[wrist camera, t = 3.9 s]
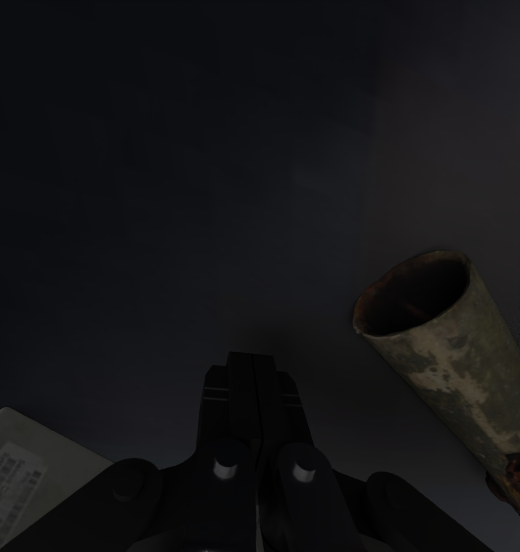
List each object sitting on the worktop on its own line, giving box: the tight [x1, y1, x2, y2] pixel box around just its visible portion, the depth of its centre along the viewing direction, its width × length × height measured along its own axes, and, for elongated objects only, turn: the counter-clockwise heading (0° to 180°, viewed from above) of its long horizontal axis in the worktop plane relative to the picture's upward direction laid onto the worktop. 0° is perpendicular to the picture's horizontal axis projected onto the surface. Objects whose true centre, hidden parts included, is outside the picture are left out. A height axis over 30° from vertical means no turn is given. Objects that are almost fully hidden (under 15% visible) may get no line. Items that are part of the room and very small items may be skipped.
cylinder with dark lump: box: [353, 251, 520, 516], centre depth 15 cm, size 18×7×6 cm, turn 40°
